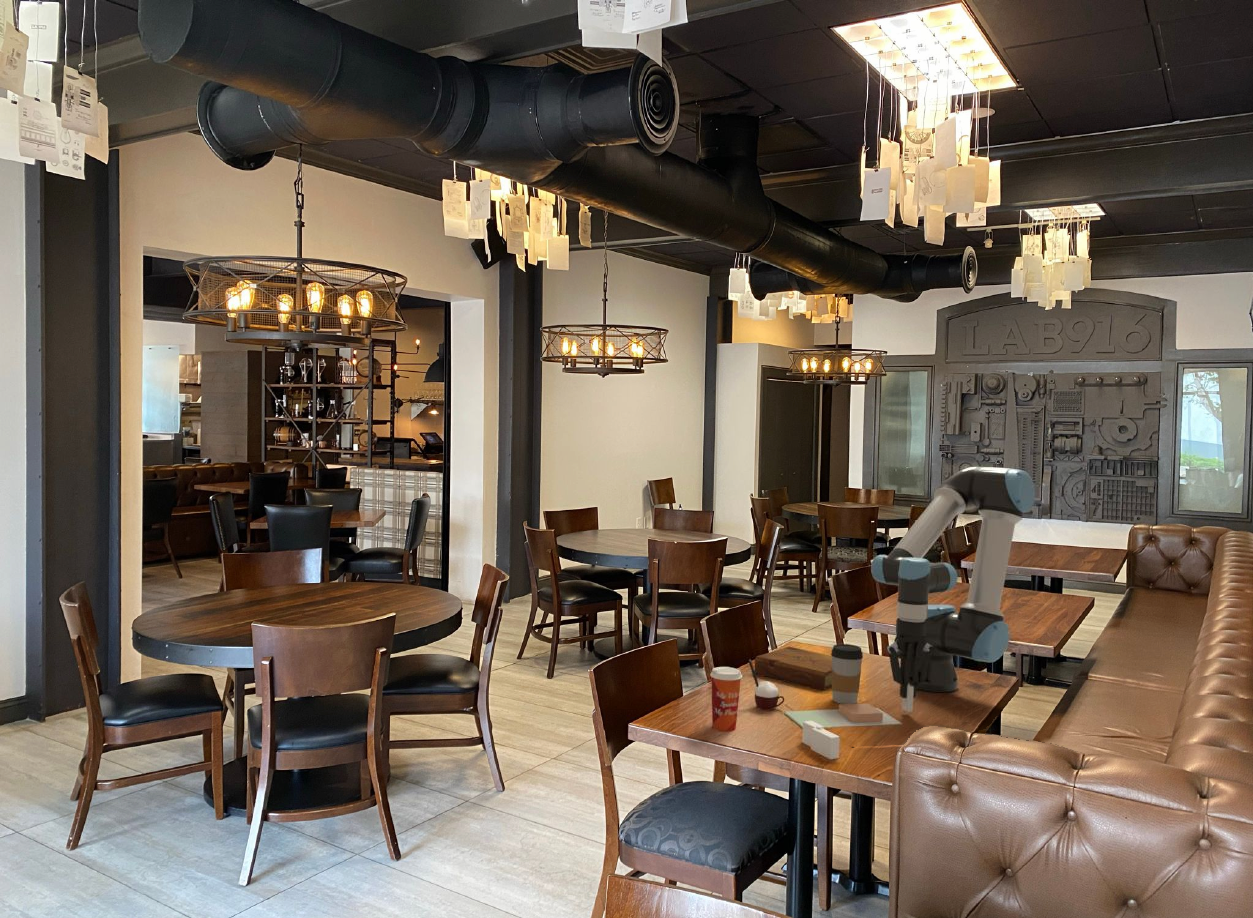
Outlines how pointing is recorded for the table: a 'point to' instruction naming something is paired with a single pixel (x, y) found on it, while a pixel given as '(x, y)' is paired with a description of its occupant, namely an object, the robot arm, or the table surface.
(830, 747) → the white stepped block
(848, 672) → the coffee cup
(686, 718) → the table surface
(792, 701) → the table surface
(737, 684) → the paper cup
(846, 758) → the table surface
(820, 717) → the mat
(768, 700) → the cocoa
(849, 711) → the tile
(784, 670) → the diary
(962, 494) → the robot arm
